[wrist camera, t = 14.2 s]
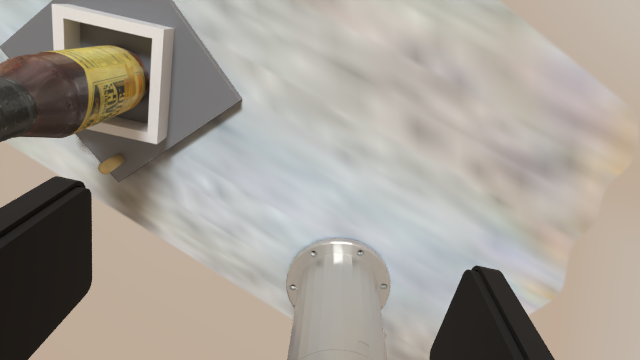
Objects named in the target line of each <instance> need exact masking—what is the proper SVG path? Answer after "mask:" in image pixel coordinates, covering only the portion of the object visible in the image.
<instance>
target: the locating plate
mask: <svg viewBox="0 0 640 360" xmlns="http://www.w3.org/2000/svg"><path fill="white" fill-rule="evenodd" d="M106 45H108V46H110V45H111V46H117V47H120V48H124V49H127V50H128V51H130V52H132V53H133V54H135V55H137V56H138V57H139V59H140V60H141V61H142V63H143V65H144V67H145V69H146V70H147V72H148V76H149V84H148V86H149V87H148V89H147V93H146V95H145V97H144V99H143V100H142V101H141V102H139V103H138V104H137V105H136V106H135V107H133V108H132V109H130V110H127V111H125V112H123V113H121V114H118V115H116V116H114V117H111V118H109V119H107V120H105V121H102V122H100V123H98V124H96V125H94V126H91V127H88V128H86V129H84V130H81V131H79V132H77V133H75V134H76V135H77V136H78V137H79V138H80V139H81V140H82V142H83V143H84V144H85V145H86V146H87V147H88V148H89V149H90V151H91V152H92V153H93V154H94V155H95V156H96V157H97V159H98V160H99V161H100V162H101V164H100V165H99V166H98V169H99V171H100V172H101V173H102V174H109V173H111V174H112V176H113V177H114V178H115V179H116V180H117V181H118V182H120V181H121V180H123V179H124V178H126V177H127V176H129V175H130V174H132V173H133V172H135V171H136V170H138V169H139V168H141V167H142V166H144V165H145V164H146V163H148V162H149V161H151V160H152V159H154V158H155V157H157V156H158V155H160V154H161V153H163V152H164V151H166V150H167V149H169V148H170V147H172V146H173V145H175V144H176V143H178V142H179V141H181V140H182V139H184V138H185V137H187V136H188V135H190V134H191V133H193V132H194V131H196V130H197V129H199V128H200V127H202V126H203V125H205V124H206V123H208V122H209V121H211V120H212V119H213V118H215V117H216V116H218V115H219V114H221V113H222V112H224V111H225V110H227V109H228V108H230V107H231V106H233V105H234V104H236V103H237V102H239V101H240V100H241V99H242V98H241V96H240V95H239V93H238V92H237V91H236V89H235V88H234V86H233V85H232V84H231V82H230V81H229V79H228V78H227V77H226V75H225V74H224V72H223V71H222V69H221V68H220V67H219V65H218V64H217V62H216V61H215V60H214V58H213V57H212V55H211V54H210V53H209V51H208V50H207V48H206V47H205V45H204V44H203V43H202V41H201V40H200V38H199V37H198V36H197V34H196V33H195V31H194V30H193V29H192V27H191V26H190V24H189V23H188V21H187V20H186V19H185V17H184V16H183V14H182V13H181V12H180V10H179V9H178V7H177V6H176V5H175V3H174V2H173V0H53V1H51V2H50V3H49V4H48V5H47V6H46V7H45V8H43V9H42V10H41V11H40V12H39V13H38V14H37V15H35V16H34V17H33V18H32V19H31V20H30V21H29V22H27V23H26V24H25V25H24V26H23V27H22V28H21V29H19V30H18V31H17V32H16V33H15V34H14V35H13V36H11V37H10V38H9V39H8V40H7V41H6V42H5V43H3V44H2V45H1V46H0V49H1V50H2V51H3V52H4V53H5V54H6V55H7V56H8V58H9V59H11V58H13V57H17V56H22V55H27V54H32V55H33V54H36V53H39V52H45V51H55V50H65V49H75V48H85V47H95V46H106Z"/></svg>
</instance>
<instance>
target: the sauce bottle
mask: <svg viewBox="0 0 640 360" xmlns="http://www.w3.org/2000/svg"><path fill="white" fill-rule="evenodd" d="M148 84H149V76H148V72H147V70H146V69H145V67H144V65H143V63H142V61H141V60H140V59H139V57H138V56H137V55H135V54H133V53H132V52H130V51H128V50H127V49H124V48H120V47H117V46H111V45H110V46H108V45H106V46H95V47H85V48H75V49H65V50H55V51H45V52H39V53H36V54H33V55H32V54H27V55H22V56H17V57H13V58H11V59H7V60H6V61H4V62H2V63H1V64H0V142H2V141H5V140H7V139H10V138H12V137H13V138H15V137H47V138H64V137H67V136H70V135H72V134H75V133H77V132H79V131H81V130H84V129H86V128H88V127H91V126H94V125H96V124H98V123H100V122H102V121H105V120H107V119H109V118H111V117H114V116H116V115H118V114H121V113H123V112H125V111H127V110H130V109H132V108H133V107H135V106H136V105H137V104H138V103H139V102H141V101H142V100H143V99H144V97H145V95H146V93H147V89H148V87H149V86H148Z"/></svg>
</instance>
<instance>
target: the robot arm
mask: <svg viewBox="0 0 640 360" xmlns="http://www.w3.org/2000/svg"><path fill="white" fill-rule="evenodd" d="M91 220H92V215H91V192H90V190H89V189H86V188H85V185H84V183H83V182H81V181H77V180H72V179H67V178H63V177H57V176H56V177H53V178H51V179H49V180H48V181H46V182H44V183H42V184H41V185H39V186H37V187H36V188H34V189H32V190H30V191H29V192H27V193H25V194H24V195H22V196H20V197H19V198H17V199H16V200H13V201H12V202H10V203H8V204H7V205H5V206H3V207H1V208H0V360H28V359H29V358H30V356H31V355H32V354H33V353H34V352H35V351H36V350H37V349H38V348H39V347H40V345H41V344H42V343H43V342H44V341H45V340H46V339H47V338H48V336H49V335H50V334H51V333H52V332H53V331H54V330H55V329H56V327H57V326H58V325H59V324H60V323H61V322H62V321H63V319H64V318H65V317H66V316H67V315H68V314H69V313H70V312H71V311H72V309H73V308H74V307H75V306H76V305H77V304H78V303H79V302H80V301H81V300H82V298H83V297H84V296H85V295H86V294H87V292H88V290H89V289H90V286H91V282H92V221H91ZM287 291H288V295H289V298H290V300H291V302H292V304H293V305H294V306H295V313H294V319H293V326H292V332H291V339H290V346H289V352H288V359H287V360H387V353H386V345H385V338H386V334H385V333H384V330H383V322H382V315H381V309H382V307H383V306H384V305H385V303H386V301H387V299H388V297H389V292H390V277H389V272H388V269H387V267H386V264H385V263H384V261H383V260H382V258H381V257H380V256H379V255H378V254H377V253H376V252H375V251H374V250H373V249H371V248H370V247H368V246H367V245H365V244H362V243H360V242H358V241H354V240H350V239H343V238H332V239H325V240H321V241H318V242H315V243H313V244H311V245H309V246H307V247H306V248H304V249H303V250H302V251H300V252H299V254H298V255H297V256H296V257H295V258H294V260H293V261H292V263H291V265H290V268H289V271H288V275H287ZM430 360H555V359H554V358H553V356H552V355H551V353H550V351H549V350H548V348H547V346H546V345H545V343H544V341H543V340H542V338H541V336H540V335H539V333H538V332H537V330H536V328H535V327H534V325H533V324H532V322H531V320H530V318H529V317H528V315H527V313H526V312H525V310H524V309H523V307H522V305H521V304H520V302H519V300H518V299H517V297H516V295H515V294H514V292H513V290H512V289H511V287H510V286H509V284H508V282H507V281H506V279H505V277H504V276H503V274H502V273H501V272H500V271H499V270H495V269H490V268H486V267H481V266H474V267H473V268H472V270H466V271H465V272H464V274H463V276H462V278H461V281H460V283H459V285H458V287H457V290H456V292H455V294H454V297H453V299H452V301H451V304H450V306H449V308H448V311H447V313H446V315H445V318H444V320H443V322H442V325H441V327H440V329H439V332H438V334H437V336H436V339H435V341H434V343H433V345H432V348H431V351H430Z"/></svg>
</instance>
